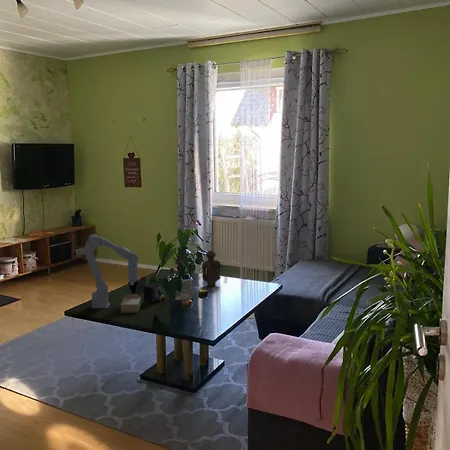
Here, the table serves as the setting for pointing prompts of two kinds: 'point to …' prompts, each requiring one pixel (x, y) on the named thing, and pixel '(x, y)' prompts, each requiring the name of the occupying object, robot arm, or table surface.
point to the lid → (131, 300)
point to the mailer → (131, 308)
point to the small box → (152, 292)
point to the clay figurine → (211, 269)
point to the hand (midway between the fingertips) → (133, 293)
